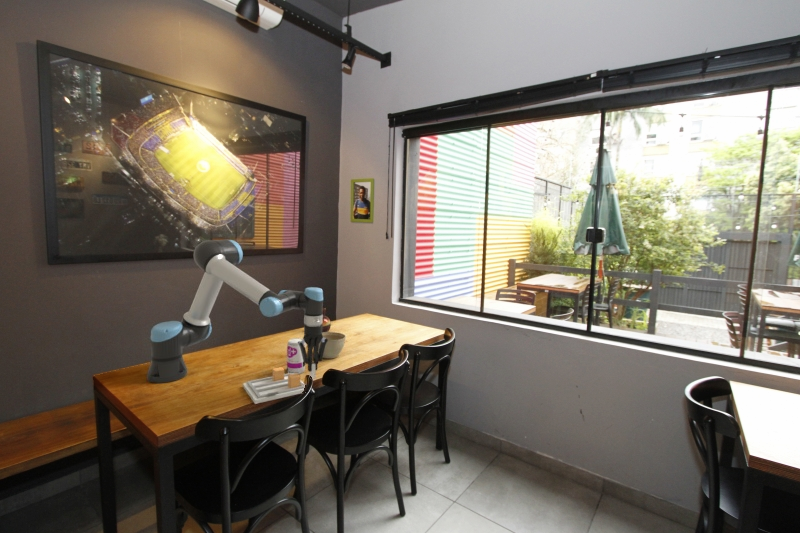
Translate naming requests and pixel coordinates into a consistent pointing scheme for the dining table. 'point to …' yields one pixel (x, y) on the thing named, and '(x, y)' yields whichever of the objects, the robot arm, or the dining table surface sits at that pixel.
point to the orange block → (278, 374)
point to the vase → (325, 322)
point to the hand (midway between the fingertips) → (312, 377)
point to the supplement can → (294, 357)
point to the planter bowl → (333, 344)
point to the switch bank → (271, 389)
